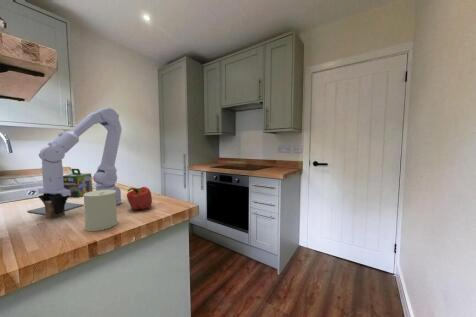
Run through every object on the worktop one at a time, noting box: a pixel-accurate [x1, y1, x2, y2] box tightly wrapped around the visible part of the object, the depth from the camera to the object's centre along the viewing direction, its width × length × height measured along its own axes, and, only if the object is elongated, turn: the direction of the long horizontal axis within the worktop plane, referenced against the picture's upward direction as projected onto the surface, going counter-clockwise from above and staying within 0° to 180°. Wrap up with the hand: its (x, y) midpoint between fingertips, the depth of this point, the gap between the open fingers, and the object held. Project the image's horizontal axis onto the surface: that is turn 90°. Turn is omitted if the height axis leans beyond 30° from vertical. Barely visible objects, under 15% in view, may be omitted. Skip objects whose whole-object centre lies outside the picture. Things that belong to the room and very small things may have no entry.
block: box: [44, 200, 66, 220], centre depth 75 cm, size 3×4×6 cm, turn 163°
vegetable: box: [126, 186, 153, 211], centre depth 84 cm, size 11×10×10 cm
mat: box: [26, 201, 84, 216], centre depth 84 cm, size 13×13×1 cm
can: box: [82, 190, 118, 232], centre depth 67 cm, size 9×9×12 cm
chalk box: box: [63, 168, 94, 198], centre depth 106 cm, size 9×9×15 cm
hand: (55, 212), depth 75 cm, fingers open, 4 cm apart
